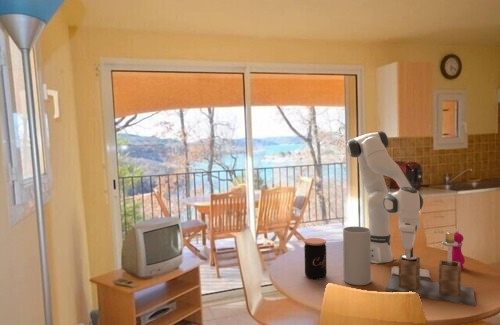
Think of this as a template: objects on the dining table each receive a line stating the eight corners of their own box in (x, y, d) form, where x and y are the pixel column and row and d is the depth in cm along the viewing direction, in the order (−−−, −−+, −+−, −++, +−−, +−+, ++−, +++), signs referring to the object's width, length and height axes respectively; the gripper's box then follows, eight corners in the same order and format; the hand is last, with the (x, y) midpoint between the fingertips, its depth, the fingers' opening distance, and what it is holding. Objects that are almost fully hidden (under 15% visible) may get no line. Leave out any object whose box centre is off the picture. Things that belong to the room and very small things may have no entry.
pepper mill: (466, 271, 185) (467, 231, 184) (451, 270, 186) (451, 231, 185) (461, 266, 192) (461, 228, 191) (446, 265, 193) (446, 228, 192)
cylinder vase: (367, 287, 168) (366, 234, 166) (340, 283, 174) (339, 231, 173) (373, 278, 178) (373, 228, 177) (348, 274, 185) (347, 225, 183)
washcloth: (391, 270, 190) (391, 264, 190) (429, 274, 184) (429, 268, 183) (390, 278, 179) (390, 272, 179) (431, 282, 173) (431, 276, 172)
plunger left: (401, 282, 165) (401, 248, 164) (402, 277, 170) (402, 245, 169) (416, 284, 162) (415, 250, 161) (417, 279, 167) (417, 246, 166)
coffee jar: (313, 281, 177) (313, 244, 176) (300, 274, 186) (300, 239, 185) (331, 277, 182) (330, 241, 181) (317, 270, 191) (317, 236, 190)
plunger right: (441, 269, 156) (441, 234, 156) (441, 265, 162) (442, 230, 161) (457, 271, 153) (457, 235, 153) (457, 267, 159) (457, 232, 158)
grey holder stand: (385, 291, 163) (385, 261, 162) (390, 279, 177) (390, 251, 176) (475, 305, 147) (475, 272, 146) (473, 291, 161) (473, 260, 160)
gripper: (404, 218, 175) (404, 247, 176) (398, 228, 157) (398, 259, 158) (418, 219, 172) (418, 248, 173) (414, 229, 154) (414, 261, 155)
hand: (409, 254), depth 165 cm, fingers open, 7 cm apart
